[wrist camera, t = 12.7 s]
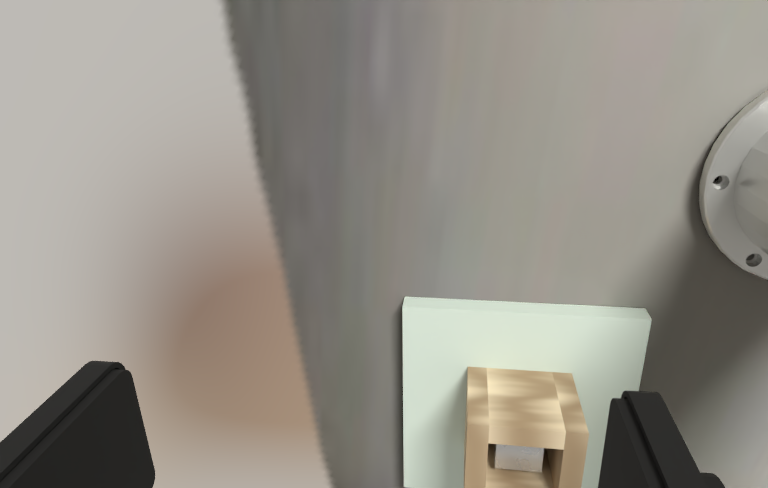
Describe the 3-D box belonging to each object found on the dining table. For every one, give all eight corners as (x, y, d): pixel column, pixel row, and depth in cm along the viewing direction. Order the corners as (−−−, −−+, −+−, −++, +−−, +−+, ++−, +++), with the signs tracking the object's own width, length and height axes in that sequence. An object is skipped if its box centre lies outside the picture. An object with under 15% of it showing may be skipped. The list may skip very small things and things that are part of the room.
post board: (645, 308, 37) (672, 354, 32) (612, 491, 43) (631, 554, 38) (404, 296, 39) (395, 338, 34) (405, 472, 45) (397, 530, 40)
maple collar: (571, 373, 38) (589, 434, 32) (561, 454, 41) (575, 522, 35) (467, 366, 39) (467, 424, 33) (464, 445, 42) (463, 511, 36)
